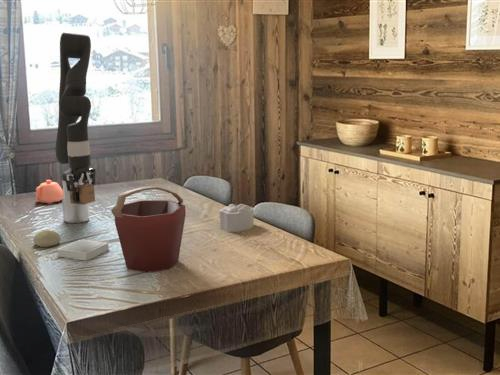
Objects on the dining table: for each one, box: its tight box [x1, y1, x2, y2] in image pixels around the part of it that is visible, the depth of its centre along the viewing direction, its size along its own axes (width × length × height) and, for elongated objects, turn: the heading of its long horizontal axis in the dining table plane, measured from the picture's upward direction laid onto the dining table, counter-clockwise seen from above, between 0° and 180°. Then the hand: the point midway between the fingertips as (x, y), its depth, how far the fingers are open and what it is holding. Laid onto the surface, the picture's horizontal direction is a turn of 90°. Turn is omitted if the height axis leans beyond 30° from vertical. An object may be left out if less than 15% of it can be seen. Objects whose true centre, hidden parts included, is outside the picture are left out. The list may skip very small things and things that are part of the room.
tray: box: [56, 239, 110, 261], centre depth 208 cm, size 12×12×3 cm
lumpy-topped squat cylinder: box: [219, 203, 255, 233], centre depth 236 cm, size 10×13×9 cm
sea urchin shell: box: [32, 229, 61, 248], centre depth 219 cm, size 9×8×8 cm
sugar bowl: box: [35, 179, 64, 205], centre depth 281 cm, size 12×14×10 cm
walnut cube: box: [70, 183, 96, 205], centre depth 216 cm, size 6×6×6 cm
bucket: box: [110, 186, 187, 273], centre depth 195 cm, size 24×22×25 cm
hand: (82, 200), depth 217 cm, fingers closed on walnut cube, 6 cm apart
